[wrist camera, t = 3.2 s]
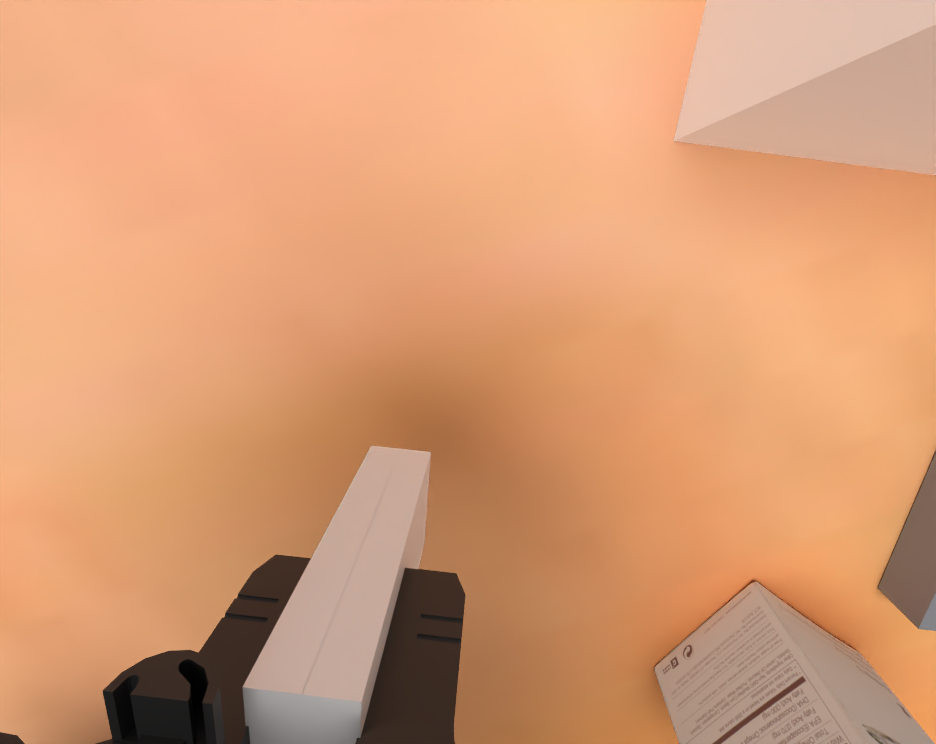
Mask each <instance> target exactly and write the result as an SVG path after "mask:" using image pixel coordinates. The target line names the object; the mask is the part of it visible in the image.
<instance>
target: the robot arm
mask: <svg viewBox="0 0 936 744" xmlns="http://www.w3.org/2000/svg"><path fill="white" fill-rule="evenodd" d="M430 460H431V452H427V451H418V450H408V449H399V448H390V447H381V446H371V447H370V449H369V451H368V453H367V454H366V456H365V458H364V460H363V462H362V464H361V466H360V468H359V470H358V471H357V473H356V475H355V477H354V479H353V481H352V483H351V485H350V486H349V488H348V490H347V492H346V494H345V496H344V498H343V500H342V501H341V503H340V505H339V507H338V509H337V511H336V513H335V515H334V516H333V518H332V520H331V522H330V524H329V526H328V528H327V530H326V531H325V533H324V535H323V537H322V539H321V541H320V543H319V545H318V546H317V548H316V550H315V552H314V554H313V556H312V558H311V559H310V558H301V557H292V556H284V555H275V556H273V557H272V558H271V559H269V560H268V561H267V562H266V563H264V564H263V565H262V566H260V567H259V568H258V569H256V570H255V571H254V572H253V573H252V574H251V576H250V577H249V579H248V580H247V582H246V583H245V585H244V586H243V588H242V589H241V591H240V592H239V594H238V597H237V599H234V601H233V602H232V604H231V605H230V607H229V608H228V610H227V611H226V613H225V617H224V618H222V619H221V620H220V622H219V623H218V625H217V626H216V628H215V629H214V631H213V632H212V634H211V635H210V637H209V638H208V640H207V641H206V643H205V644H204V646H203V647H202V649H201V650H200V652H199V653H198V652H195V651H192V650H180V651H167V652H164V653H161V654H158V655H155V656H152V657H149V658H146V659H144V660H142V661H140V662H139V663H137V664H135V665H134V666H132V667H130V668H129V669H127V670H125V671H123V672H122V673H121V674H120V675H119V676H118V677H117V678H116V679H115V680H114V681H112V682H111V683H110V684H109V685H108V686H107V687H106V688H105V689H104V690H103V695H104V700H105V705H106V710H107V715H108V720H109V725H110V729H111V734H112V739H110V740H107V741H104V742H100V743H97V744H455V742H454V715H455V704H456V693H457V682H458V671H459V659H460V648H461V637H462V626H463V615H464V604H465V593H464V591H463V588H462V586H461V583H460V581H459V579H458V576H457V574H456V573H447V572H439V571H430V570H421V569H419V566H420V562H421V557H422V553H423V548H424V544H425V530H426V516H427V502H428V488H429V474H430ZM0 744H24V743H23V741H22V740H21V739H20V738H19V737H18V736H17V735H12V734H6V733H0Z"/></svg>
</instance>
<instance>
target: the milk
mask: <svg viewBox="0 0 936 744" xmlns="http://www.w3.org/2000/svg"><path fill="white" fill-rule="evenodd" d="M674 141H677V142H685V143H692V144H700V145H707V146H715V147H723V148H730V149H738V150H745V151H753V152H760V153H768V154H776V155H783V156H791V157H798V158H806V159H814V160H821V161H829V162H836V163H844V164H852V165H859V166H867V167H874V168H882V169H890V170H897V171H905V172H912V173H920V174H927V175H935V176H936V0H707V1H706V5H705V9H704V14H703V18H702V22H701V26H700V31H699V35H698V39H697V43H696V48H695V52H694V56H693V60H692V65H691V69H690V73H689V77H688V82H687V86H686V90H685V94H684V99H683V103H682V107H681V111H680V116H679V120H678V124H677V128H676V133H675V137H674Z"/></svg>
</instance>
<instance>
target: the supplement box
mask: <svg viewBox="0 0 936 744" xmlns="http://www.w3.org/2000/svg"><path fill="white" fill-rule="evenodd" d="M654 670H655V674H656V676H657V679H658V682H659V685H660V688H661V691H662V694H663V697H664V700H665V703H666V706H667V709H668V712H669V715H670V718H671V721H672V724H673V727H674V730H675V732H676V735H677V738H678V741H679V744H934V742H933V741H932V740H931V739H930V737H929V736H928V735H927V734H926V733H925V731H924V730H923V729H922V728H921V726H920V725H919V724H918V723H917V722H916V720H915V719H914V718H913V717H912V715H911V714H910V713H909V712H908V710H907V709H906V708H905V707H904V706H903V704H902V703H901V702H900V700H899V699H898V698H897V697H896V696H895V694H894V693H893V692H892V691H891V689H890V688H889V687H888V686H887V685H886V683H885V682H884V681H883V680H882V678H881V677H880V676H879V675H878V674H877V672H876V671H875V670H874V669H873V668H872V666H871V665H870V664H869V663H868V661H867V660H866V659H865V658H864V657H863V656H862V654H861V653H859V652H858V651H856V650H854V649H853V648H851V647H850V646H848V645H846V644H845V643H843V642H841V641H840V640H838V639H837V638H835V637H834V636H832V635H831V634H829V633H828V632H826V631H824V630H823V629H821V628H820V627H819V626H817V625H816V624H814V623H813V622H811V621H810V620H808V619H807V618H806V617H804V616H803V615H801V614H800V613H799V612H797V611H796V610H794V609H793V608H792V607H790V606H789V605H787V604H786V603H785V602H783V601H782V600H781V599H779V598H778V597H776V596H775V595H774V594H772V593H771V592H770V591H768V590H767V589H766V588H765V587H763V586H762V585H761V584H759V583H758V582H753V583H751V584H749V585H748V586H747V587H746V588H745V589H744V590H742V591H741V592H740V593H738V594H737V595H736V596H735V597H734V598H732V599H731V600H730V601H729V602H728V603H727V604H726V605H724V606H723V607H722V608H721V609H720V610H719V611H717V612H716V613H715V614H714V615H713V616H712V617H711V618H710V619H708V620H707V621H706V622H705V623H703V624H702V625H701V626H700V627H699V628H698V629H697V630H695V631H694V632H693V633H692V634H691V635H690V636H689V637H687V638H686V639H685V640H684V641H683V642H682V643H680V644H679V645H678V646H677V647H676V648H675V649H674V650H672V651H671V652H670V653H669V654H668V655H667V656H666V657H665V658H663V659H662V660H661V661H660V662H659V663H658V664H657V665H656V666H655V669H654Z"/></svg>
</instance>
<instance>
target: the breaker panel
mask: <svg viewBox="0 0 936 744" xmlns="http://www.w3.org/2000/svg"><path fill="white" fill-rule="evenodd" d="M878 589H879V590H880V591H881V592H882V593H883V594H884V595H885V596H886V597H887V598H888V599H889V600H890V601H891V602H892V603H893V604H894V605H895V606H896V607H897V608H898V609H899V610H900V611H901V612H902V613H903V614H904V615H905V616H906V617H907V618H908V619H909V620H910V621H911V622H912V623H913V624H914V625H915V626H916V627H917V628H918V629H924V630H933V631H936V453H935V455H934V458H933V460H932V462H931V465H930V467H929V469H928V472H927V474H926V476H925V479H924V481H923V483H922V486H921V488H920V490H919V493H918V495H917V497H916V500H915V502H914V504H913V507H912V509H911V511H910V514H909V516H908V518H907V521H906V523H905V525H904V528H903V530H902V532H901V535H900V537H899V539H898V542H897V544H896V547H895V549H894V551H893V554H892V556H891V558H890V561H889V563H888V565H887V568H886V570H885V572H884V575H883V577H882V579H881V582H880V584H879V586H878Z"/></svg>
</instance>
